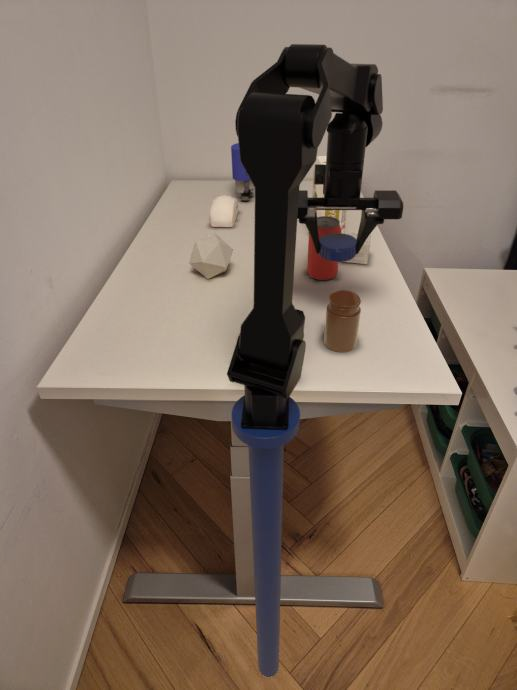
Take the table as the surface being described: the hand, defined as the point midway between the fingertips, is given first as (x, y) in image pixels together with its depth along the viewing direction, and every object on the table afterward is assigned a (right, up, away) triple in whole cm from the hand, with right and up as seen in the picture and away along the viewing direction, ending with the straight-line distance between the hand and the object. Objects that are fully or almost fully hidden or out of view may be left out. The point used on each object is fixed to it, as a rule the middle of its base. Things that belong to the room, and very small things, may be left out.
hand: (337, 252), depth 80 cm
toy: (-18, +28, +61) cm, 69 cm away
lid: (0, +1, -1) cm, 2 cm away
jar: (+1, -15, +1) cm, 15 cm away
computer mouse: (-23, +18, +47) cm, 56 cm away
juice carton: (+3, +11, +36) cm, 38 cm away
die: (-24, 0, +22) cm, 33 cm away
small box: (+9, +4, +27) cm, 29 cm away
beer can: (0, -1, +21) cm, 21 cm away
